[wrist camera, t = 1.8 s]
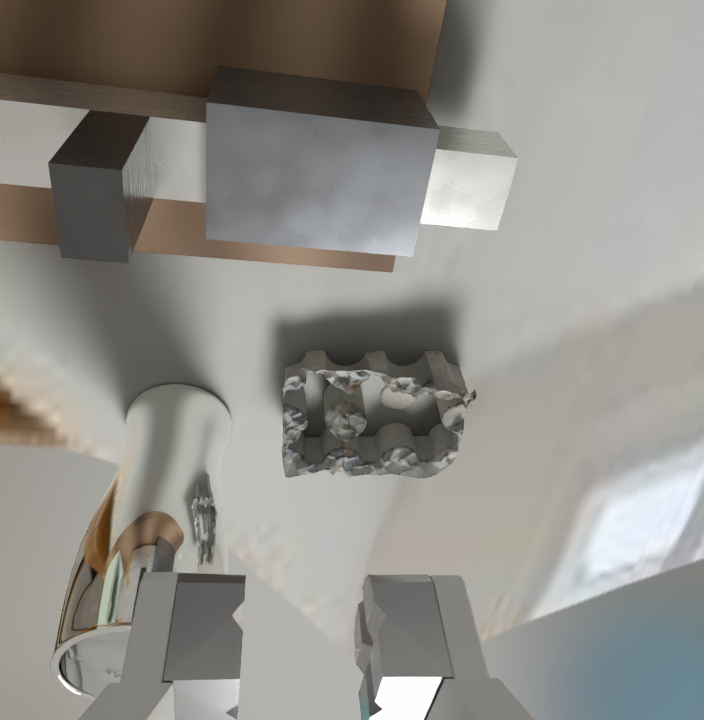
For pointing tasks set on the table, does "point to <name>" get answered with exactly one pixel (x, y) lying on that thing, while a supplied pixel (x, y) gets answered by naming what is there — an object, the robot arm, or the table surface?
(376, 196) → the sleeve
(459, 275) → the table surface
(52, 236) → the base board
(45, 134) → the light grey bar piece
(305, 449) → the egg carton
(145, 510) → the beer glass
